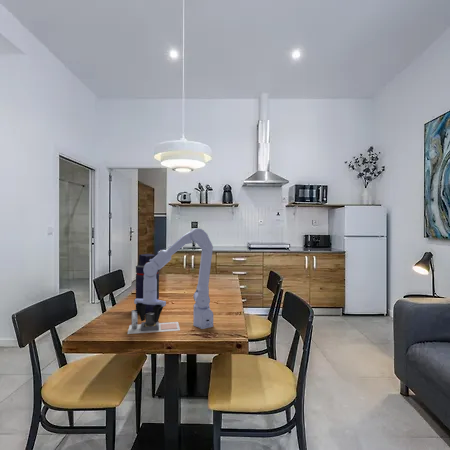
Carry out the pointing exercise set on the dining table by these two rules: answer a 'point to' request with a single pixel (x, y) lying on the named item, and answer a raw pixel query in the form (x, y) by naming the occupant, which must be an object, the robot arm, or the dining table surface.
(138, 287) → the red-striped navy canister
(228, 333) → the dining table surface
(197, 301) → the robot arm
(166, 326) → the pad
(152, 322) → the plug
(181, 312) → the dining table surface
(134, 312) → the retention clip
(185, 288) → the dining table surface
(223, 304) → the dining table surface
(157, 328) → the dock board
